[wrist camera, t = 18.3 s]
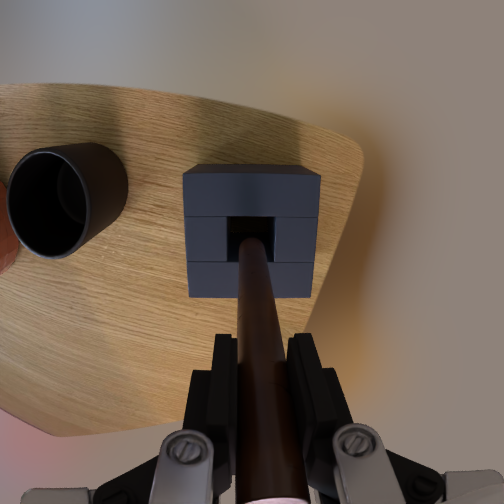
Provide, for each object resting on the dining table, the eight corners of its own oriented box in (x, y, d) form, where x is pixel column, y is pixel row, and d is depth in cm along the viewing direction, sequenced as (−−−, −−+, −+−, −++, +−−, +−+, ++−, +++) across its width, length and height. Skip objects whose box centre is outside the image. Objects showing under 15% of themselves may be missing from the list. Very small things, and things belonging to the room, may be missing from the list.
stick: (239, 237, 22) (234, 497, 5) (264, 237, 22) (317, 493, 5) (239, 261, 23) (236, 521, 6) (264, 261, 23) (305, 518, 6)
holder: (197, 164, 29) (182, 173, 22) (301, 165, 30) (321, 175, 22) (200, 260, 33) (188, 297, 25) (295, 261, 33) (310, 298, 26)
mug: (39, 143, 27) (-13, 150, 19) (133, 143, 28) (92, 147, 20) (39, 223, 31) (-7, 250, 22) (128, 233, 31) (92, 267, 23)
